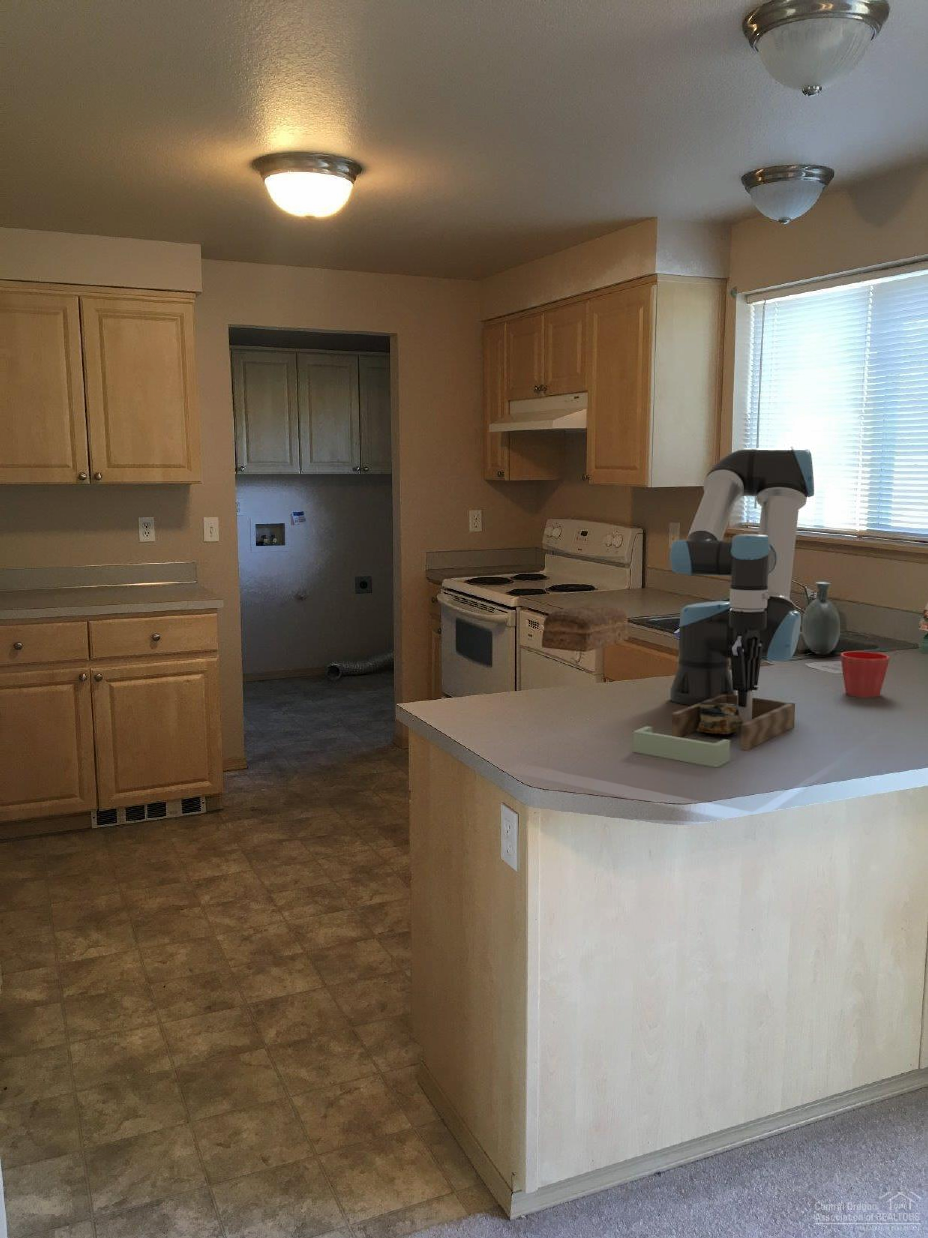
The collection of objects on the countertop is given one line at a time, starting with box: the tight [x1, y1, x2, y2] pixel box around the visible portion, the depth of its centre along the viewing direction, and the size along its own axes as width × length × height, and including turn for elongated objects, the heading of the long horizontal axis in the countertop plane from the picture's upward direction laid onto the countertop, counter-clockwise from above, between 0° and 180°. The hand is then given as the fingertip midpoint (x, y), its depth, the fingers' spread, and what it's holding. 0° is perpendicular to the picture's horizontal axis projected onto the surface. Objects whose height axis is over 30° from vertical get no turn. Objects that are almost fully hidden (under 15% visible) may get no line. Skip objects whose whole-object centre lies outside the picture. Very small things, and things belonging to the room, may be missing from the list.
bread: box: [541, 602, 630, 653], centre depth 315 cm, size 17×30×13 cm, turn 144°
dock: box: [632, 725, 731, 768], centre depth 189 cm, size 5×17×4 cm, turn 51°
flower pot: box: [840, 650, 890, 698], centre depth 244 cm, size 11×11×10 cm
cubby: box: [670, 694, 796, 752], centre depth 207 cm, size 24×16×5 cm, turn 141°
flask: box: [801, 581, 841, 656], centre depth 298 cm, size 12×17×22 cm
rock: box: [696, 702, 743, 735], centre depth 205 cm, size 9×9×6 cm
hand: (744, 721), depth 211 cm, fingers closed
